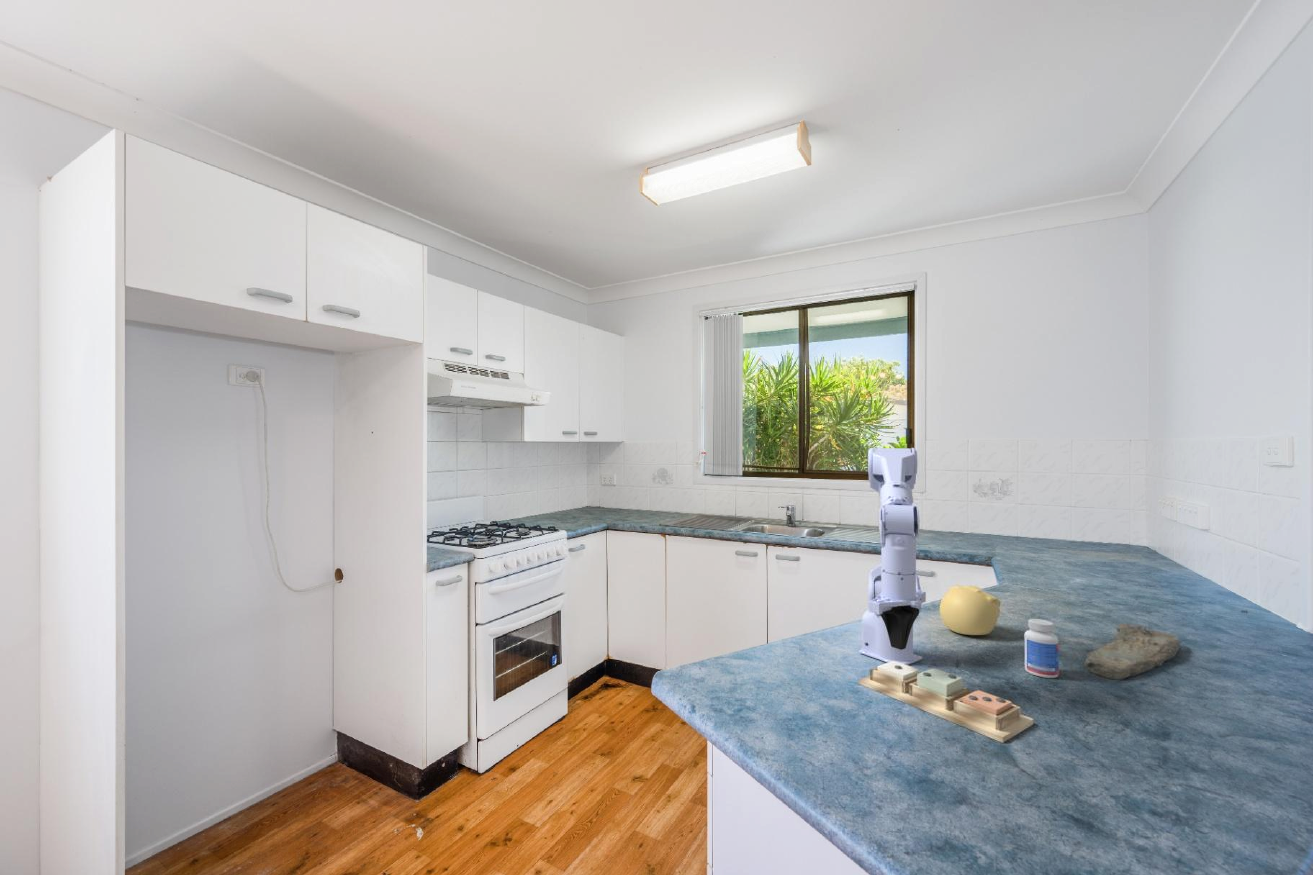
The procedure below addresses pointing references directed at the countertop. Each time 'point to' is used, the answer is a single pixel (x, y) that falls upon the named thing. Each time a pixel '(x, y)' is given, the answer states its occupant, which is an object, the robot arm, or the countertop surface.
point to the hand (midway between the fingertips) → (898, 647)
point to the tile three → (987, 702)
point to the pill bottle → (1041, 649)
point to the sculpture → (969, 610)
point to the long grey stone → (1132, 652)
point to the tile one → (898, 670)
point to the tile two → (939, 682)
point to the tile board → (950, 706)
